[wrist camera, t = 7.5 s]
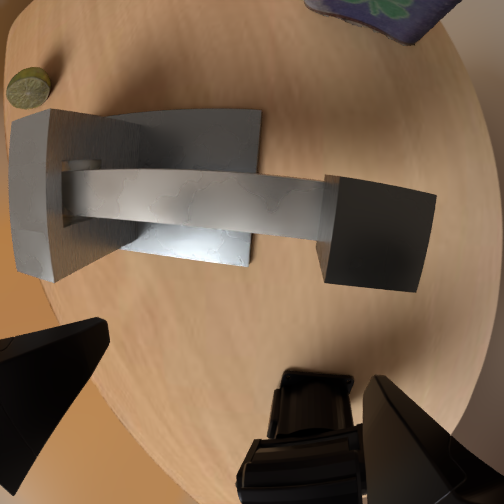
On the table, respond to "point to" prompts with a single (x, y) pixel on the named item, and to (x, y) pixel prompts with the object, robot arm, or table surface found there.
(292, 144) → the table surface
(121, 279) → the table surface
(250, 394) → the table surface
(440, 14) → the flask
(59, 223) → the block
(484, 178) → the table surface
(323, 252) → the shaft
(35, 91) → the lime
